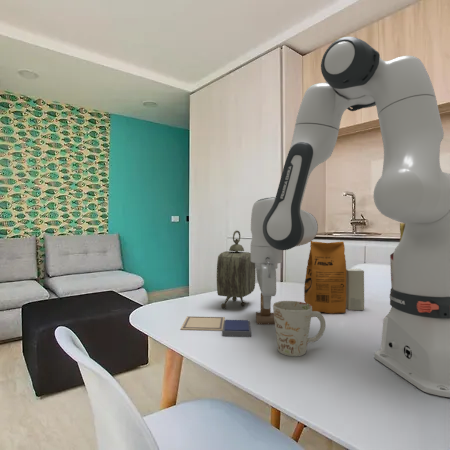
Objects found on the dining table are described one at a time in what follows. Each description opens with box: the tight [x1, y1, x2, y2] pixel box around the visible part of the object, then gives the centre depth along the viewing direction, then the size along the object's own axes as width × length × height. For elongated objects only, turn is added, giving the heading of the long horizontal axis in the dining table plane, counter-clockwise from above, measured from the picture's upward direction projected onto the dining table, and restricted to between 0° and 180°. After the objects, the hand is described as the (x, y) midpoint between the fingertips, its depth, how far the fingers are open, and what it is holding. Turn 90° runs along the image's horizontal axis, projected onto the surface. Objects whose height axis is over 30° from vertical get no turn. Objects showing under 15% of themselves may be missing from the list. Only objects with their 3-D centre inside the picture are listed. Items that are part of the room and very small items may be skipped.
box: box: [346, 268, 365, 311], centre depth 109 cm, size 5×4×13 cm
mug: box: [272, 300, 326, 357], centre depth 74 cm, size 8×13×10 cm, turn 111°
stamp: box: [255, 292, 275, 326], centre depth 94 cm, size 5×5×8 cm
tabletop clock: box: [216, 230, 256, 309], centre depth 111 cm, size 14×9×25 cm, turn 160°
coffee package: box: [303, 240, 347, 315], centre depth 107 cm, size 10×12×22 cm
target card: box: [180, 315, 226, 331], centre depth 91 cm, size 11×11×1 cm
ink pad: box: [221, 319, 252, 338], centre depth 86 cm, size 9×7×2 cm
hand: (265, 305), depth 94 cm, fingers open, 5 cm apart
